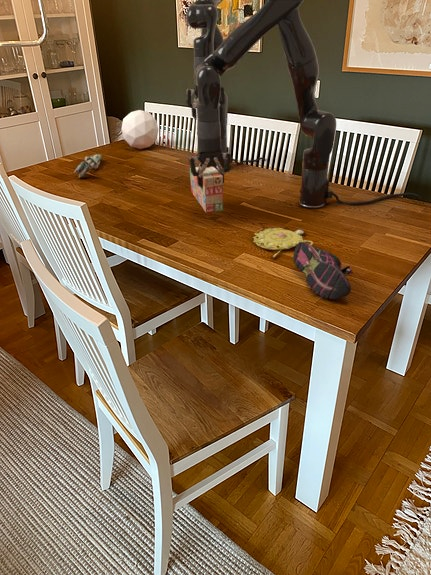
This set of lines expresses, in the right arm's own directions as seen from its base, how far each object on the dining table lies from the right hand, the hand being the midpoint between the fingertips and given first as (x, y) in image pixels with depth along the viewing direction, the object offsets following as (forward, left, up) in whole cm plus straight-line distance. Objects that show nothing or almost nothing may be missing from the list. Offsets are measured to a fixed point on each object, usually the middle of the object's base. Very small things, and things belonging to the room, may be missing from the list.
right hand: (211, 185), depth 149 cm
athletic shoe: (-15, +50, -13) cm, 54 cm away
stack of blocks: (0, -7, -8) cm, 11 cm away
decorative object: (-15, +25, -13) cm, 31 cm away
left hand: (-9, -31, +15) cm, 35 cm away
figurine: (+34, -79, -13) cm, 86 cm away
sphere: (+3, -107, -13) cm, 107 cm away
